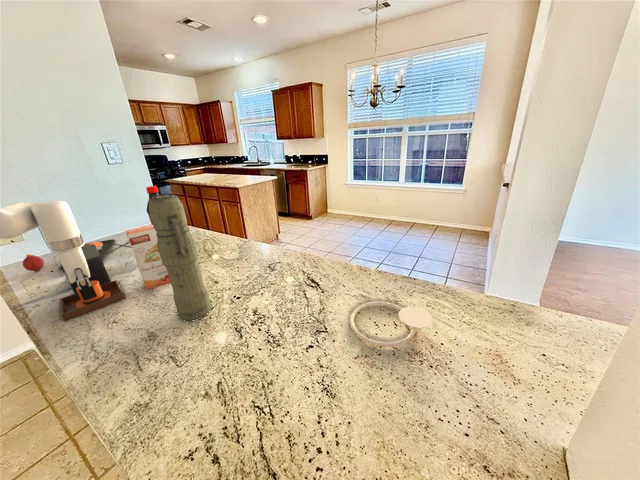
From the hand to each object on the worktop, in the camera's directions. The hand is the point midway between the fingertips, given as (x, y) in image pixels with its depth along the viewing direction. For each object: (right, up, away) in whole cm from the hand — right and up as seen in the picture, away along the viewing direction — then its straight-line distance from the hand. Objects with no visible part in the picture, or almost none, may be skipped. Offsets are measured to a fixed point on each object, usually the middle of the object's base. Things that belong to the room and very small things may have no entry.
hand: (88, 292), depth 84 cm
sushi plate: (-23, +11, +39) cm, 46 cm away
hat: (+1, -3, +1) cm, 3 cm away
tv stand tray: (+1, -4, +2) cm, 4 cm away
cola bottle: (+6, +11, +35) cm, 38 cm away
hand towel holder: (+92, -6, -15) cm, 94 cm away
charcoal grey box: (-10, +1, +13) cm, 16 cm away
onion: (-42, +4, +24) cm, 49 cm away
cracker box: (+18, +2, +12) cm, 22 cm away
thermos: (+37, -5, -6) cm, 38 cm away
